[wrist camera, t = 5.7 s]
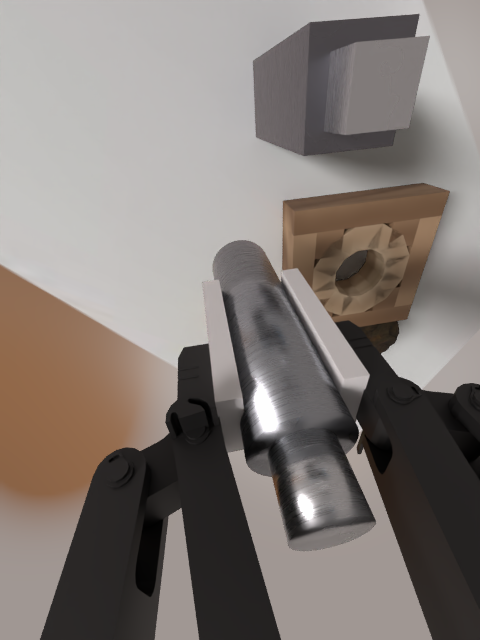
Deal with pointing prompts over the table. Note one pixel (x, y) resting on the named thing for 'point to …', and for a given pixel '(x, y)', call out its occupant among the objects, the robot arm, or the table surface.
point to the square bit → (339, 84)
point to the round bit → (290, 406)
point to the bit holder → (364, 248)
